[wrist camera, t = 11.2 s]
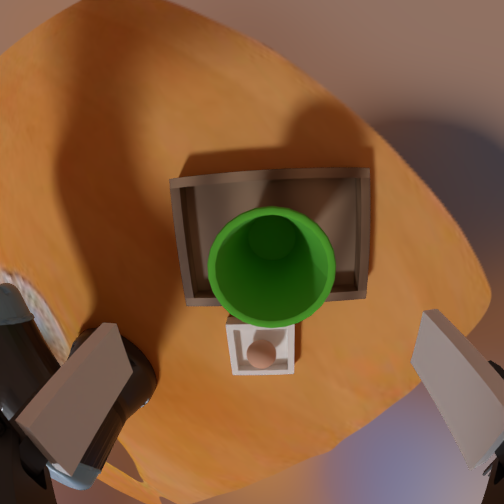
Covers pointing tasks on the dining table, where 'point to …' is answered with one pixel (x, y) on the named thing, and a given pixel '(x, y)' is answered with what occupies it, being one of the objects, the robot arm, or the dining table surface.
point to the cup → (271, 267)
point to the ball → (261, 354)
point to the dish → (246, 334)
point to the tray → (281, 195)
